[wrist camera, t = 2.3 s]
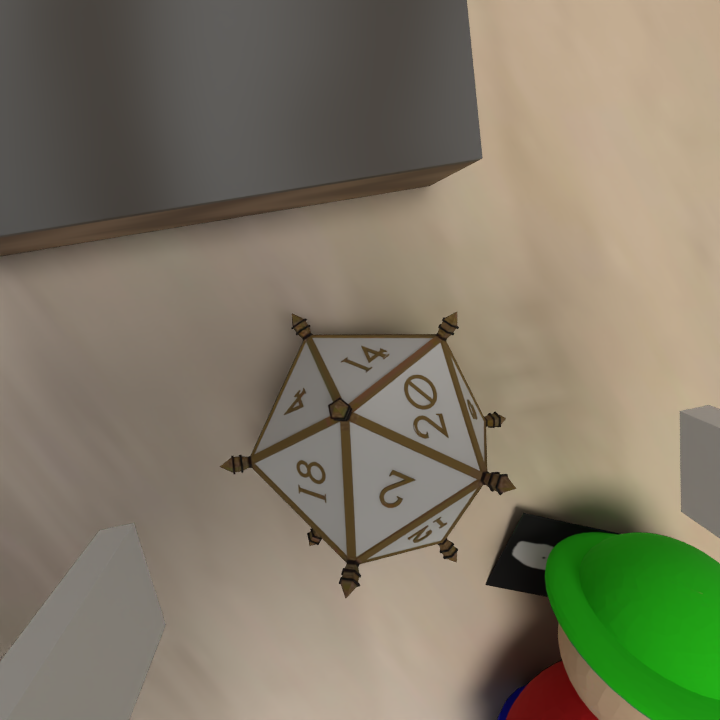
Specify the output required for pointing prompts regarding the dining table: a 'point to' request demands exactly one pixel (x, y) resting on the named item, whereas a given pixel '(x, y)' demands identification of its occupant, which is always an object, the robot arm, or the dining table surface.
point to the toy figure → (617, 623)
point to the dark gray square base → (222, 109)
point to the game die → (376, 444)
